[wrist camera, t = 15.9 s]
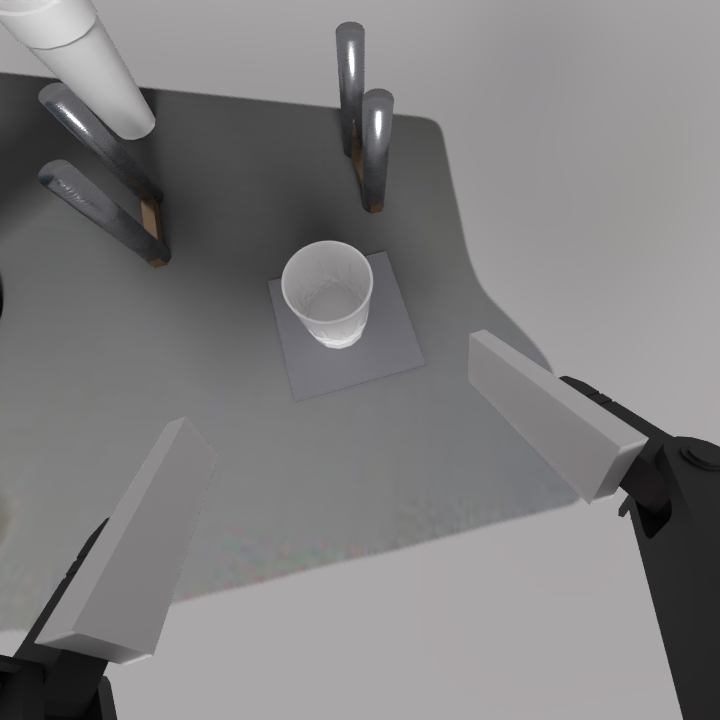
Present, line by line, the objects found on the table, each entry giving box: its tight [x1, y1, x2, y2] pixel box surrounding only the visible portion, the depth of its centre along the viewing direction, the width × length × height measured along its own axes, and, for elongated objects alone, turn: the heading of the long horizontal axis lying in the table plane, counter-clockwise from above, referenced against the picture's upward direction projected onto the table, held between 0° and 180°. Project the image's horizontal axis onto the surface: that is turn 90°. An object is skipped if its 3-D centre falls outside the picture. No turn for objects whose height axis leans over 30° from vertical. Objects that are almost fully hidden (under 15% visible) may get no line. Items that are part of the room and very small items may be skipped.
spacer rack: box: [38, 22, 394, 268], centre depth 30 cm, size 33×13×12 cm, turn 106°
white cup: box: [281, 241, 373, 349], centre depth 27 cm, size 8×8×10 cm
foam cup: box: [0, 0, 156, 140], centre depth 34 cm, size 10×9×13 cm
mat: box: [267, 251, 426, 402], centre depth 32 cm, size 16×16×1 cm
